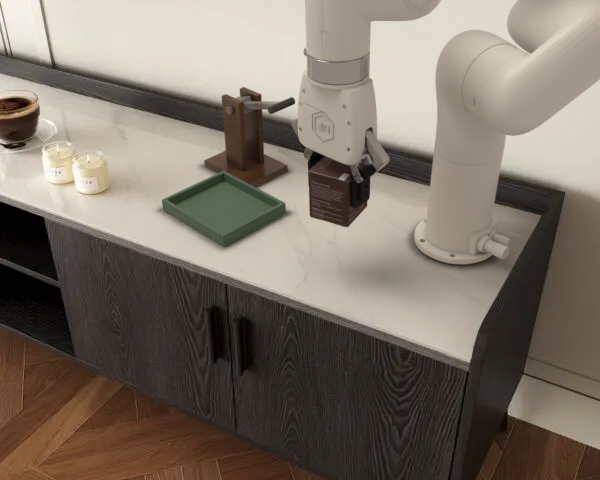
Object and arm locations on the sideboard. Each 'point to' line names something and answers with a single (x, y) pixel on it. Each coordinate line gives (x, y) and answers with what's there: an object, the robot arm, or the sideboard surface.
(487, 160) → the robot arm
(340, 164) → the box
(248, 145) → the brown lever stand
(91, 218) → the sideboard surface
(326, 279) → the sideboard surface
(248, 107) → the lever handle
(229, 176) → the square tray
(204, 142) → the sideboard surface
